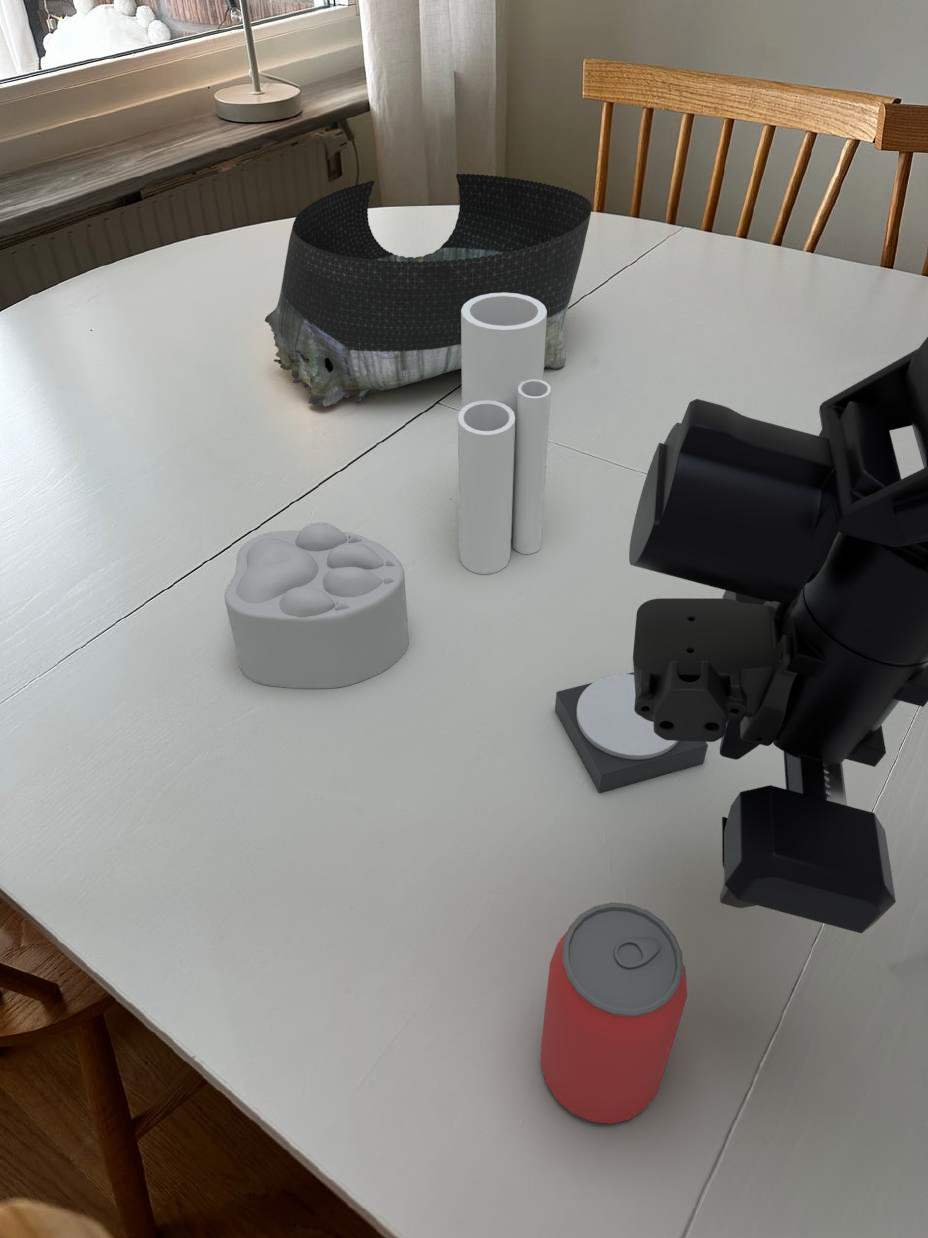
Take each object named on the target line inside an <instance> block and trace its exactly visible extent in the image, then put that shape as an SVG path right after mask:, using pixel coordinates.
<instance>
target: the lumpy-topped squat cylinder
mask: <svg viewBox="0 0 928 1238" xmlns="http://www.w3.org/2000/svg"><path fill="white" fill-rule="evenodd" d="M235 567H236V568H235V572H234V574H233V577H232V578H231V580H230V581H229V584H228V585H227V587H226V589H225V592H224V604H225V607H226V613H227V616H228V620H229V625H230V629H231V633H232V638H233V642H234V646H235V651H236V655H237V659H238V663H239V667H240V668H239V669H240V670H241V672H242V673H243V675H244V676H245V677H246V678H248V680H251V681H252V682H255V683H256V684H259V685H264V686H268V687H279V688H289V689H312V690H313V689H316V690H317V689H318V690H319V689H336V688H345V687H348V686H351V685H354V684H357V683H361V682H363V681H365V680H368V679H370V678H373V677H375V676H377V675H380V674H381V673H383V672H385V671H386V670H388V669H389V668H391V667H392V666H393V665H394V664H396V663H397V662H398V661H399V660H401V659H402V658H403V656H404V655H405V654H406V653H407V650H408V647H409V641H410V638H409V623H408V607H407V605H408V604H407V593H406V577H405V576H406V575H405V570H404V567H403V564H402V563H401V562H400V559H398V557H397V556H396V555H395V554H394V553H393V552H391V550H389V549H388V548H387V547H385V546H383V545H382V544H380V543H378V542H377V541H374V540H371V539H369V538H367V537H364V536H362V535H358V534H356V533H352V532H345V531H342V530H341V529H339V528H338V527H336V526H334V525H333V524H330V523H328V522H313V523H310V524H307V525H305V526H304V527H302V529H300V530H278V531H270V532H265V533H262V534H259V535H257V536H255V537H253V538H251V539H249V540H248V541H246V542H245V543H244V544H242V546H241V547H240V548H239V550H238V552H237V556H236V565H235Z"/></svg>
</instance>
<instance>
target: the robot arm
mask: <svg viewBox="0 0 928 1238" xmlns="http://www.w3.org/2000/svg"><path fill="white" fill-rule="evenodd" d="M818 413H819V419H820V425H821V426H820V427H821V429H820V432H819V434H818V435H817V434H814V433H813V434H812V433H808V432H804V431H801V430H797V429H793V428H790V427H786V426H783V425H778V424H774V423H771V422H767V421H763V420H759V419H756V418H751V417H748V416H747V415H743V414H741V413H740V412H737V411H735V410H734V409H732V408H730V407H728V406H725V405H722V404H718V403H714V402H710V401H707V400H702V399H699V398H695V399H693V400H691V401H689V402H688V405H687V407H686V410H685V412H684V415H683V417H682V421H681V422H676V424H674V425H673V426H672V428H671V429H670V430H669V433H668V435H667V437H666V438H665V441H664V442H658V444H657V446H656V449H655V450H654V451H655V452H654V454H653V457H652V459H651V462H650V465H649V467H648V471H647V474H646V477H645V480H644V483H643V487H642V489H641V494H640V497H639V500H638V504H637V508H636V513H635V515H634V521H633V526H632V529H631V535H630V541H629V550H628V552H629V553H628V561H629V565H630V566H632V567H636V568H640V569H642V570H643V569H644V570H646V571H647V570H648V571H651V572H656V573H659V574H662V575H666V576H669V577H674V578H677V579H681V580H686V581H690V582H693V583H697V584H701V585H704V586H708V587H711V588H714V589H718V590H722V591H724V592H723V595H722V597H721V598H720V597H719V598H717V597H716V598H713V597H712V598H710V597H709V598H707V597H706V598H703V597H700V598H696V597H695V598H693V597H691V598H690V597H689V598H687V597H686V598H683V597H681V598H679V597H678V598H677V597H675V598H672V597H671V598H663V597H662V598H661V597H660V598H653V599H649V600H646V601H645V602H643V603H642V604H641V605H640V606H639V607H638V609H637V611H636V616H635V617H636V618H635V629H634V639H633V640H634V641H633V653H632V666H633V672H634V682H635V705H634V710H635V712H636V713H637V714H638V715H640V716H641V717H642V718H644V719H646V720H648V721H651V722H653V726H654V732H655V734H656V735H658V736H659V737H661V738H663V739H665V740H671V741H699V742H706V743H714V742H717V741H719V740H720V739H721V740H720V745H719V755H720V756H721V757H724V758H727V759H731V760H735V761H736V760H740V759H742V758H743V757H745V755H747V754H749V753H750V752H752V751H753V750H755V749H756V748H757V747H759V746H760V745H761V746H765V747H770V746H771V745H772V744H773V745H774V747H776V748H777V749H779V750H781V751H782V752H783V765H784V766H783V767H784V780H785V781H784V782H785V783H784V784H785V788H783V787H778V786H776V785H771V784H769V785H765V786H761V787H755V788H752V789H747V790H743V791H739V793H738V795H737V796H736V797H735V799H734V801H733V802H732V803H731V805H730V807H729V811H728V815H727V817H726V816H722V817H721V863H722V864H721V865H722V868H723V872H724V873H723V875H724V876H723V877H724V878H723V881H724V882H723V885H722V888H721V890H720V894H719V902H720V903H721V904H722V905H725V906H729V907H732V908H736V909H744V908H745V909H746V908H750V907H756V906H758V907H762V908H766V909H768V910H771V911H772V910H773V911H777V912H779V913H784V914H787V915H792V916H795V917H799V918H801V919H802V918H803V919H806V920H810V921H814V922H818V923H821V924H825V925H828V926H832V927H836V928H840V929H843V930H848V931H851V932H854V933H858V934H863V933H864V932H866V931H867V930H868V929H870V928H871V927H872V926H874V925H875V924H876V922H878V921H879V920H880V919H881V918H882V917H883V916H884V915H885V914H886V913H887V912H888V911H889V910H890V909H891V908H892V907H893V906H894V905H895V904H896V902H897V900H896V894H895V893H896V892H895V887H894V881H893V874H892V868H891V861H890V855H889V854H890V853H889V848H888V841H887V834H886V833H887V832H886V830H885V828H884V827H883V825H882V823H881V821H880V820H879V818H878V817H877V815H876V814H875V812H872V811H869V810H865V809H861V808H857V807H853V806H850V805H848V801H847V794H846V793H847V792H846V785H845V783H846V782H845V776H844V767H843V762H844V761H845V760H847V761H851V762H854V763H859V764H863V765H866V766H870V767H873V768H874V767H876V766H877V765H879V763H880V761H881V760H882V759H883V758H884V757H885V756H886V754H887V749H886V743H885V737H884V731H883V726H882V725H883V724H884V722H885V721H886V720H887V718H888V717H889V716H890V714H891V713H892V712H893V711H894V710H895V708H896V706H898V705H899V703H900V702H902V703H907V704H911V705H915V706H918V707H922V708H924V707H925V706H926V704H927V703H928V336H927V337H926V338H925V339H924V341H923V342H922V343H921V344H920V346H919V347H918V348H916V349H914V350H913V351H911V352H909V353H907V354H906V355H904V356H902V357H900V358H899V359H897V360H895V361H893V362H891V363H890V364H888V365H886V366H885V367H883V368H880V369H879V370H878V371H875V372H874V373H872V374H870V375H868V376H867V377H864V378H863V379H861V380H860V381H858V382H856V383H853V385H851V386H849V387H847V388H845V389H844V390H842V391H840V392H839V393H837V394H835V395H833V396H832V397H830V398H828V399H826V400H824V401H823V402H821V403H820V405H819V410H818ZM911 426H912V430H913V434H914V438H915V440H916V444H917V448H918V451H919V454H920V459H921V462H922V466H923V468H921V469H920V470H918V471H916V472H913V473H911V474H909V475H907V476H905V477H903V478H902V476H901V471H900V468H899V463H898V460H897V455H896V452H895V448H894V444H893V440H892V436H891V431H894V430H899V429H904V428H907V427H911Z"/></svg>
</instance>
